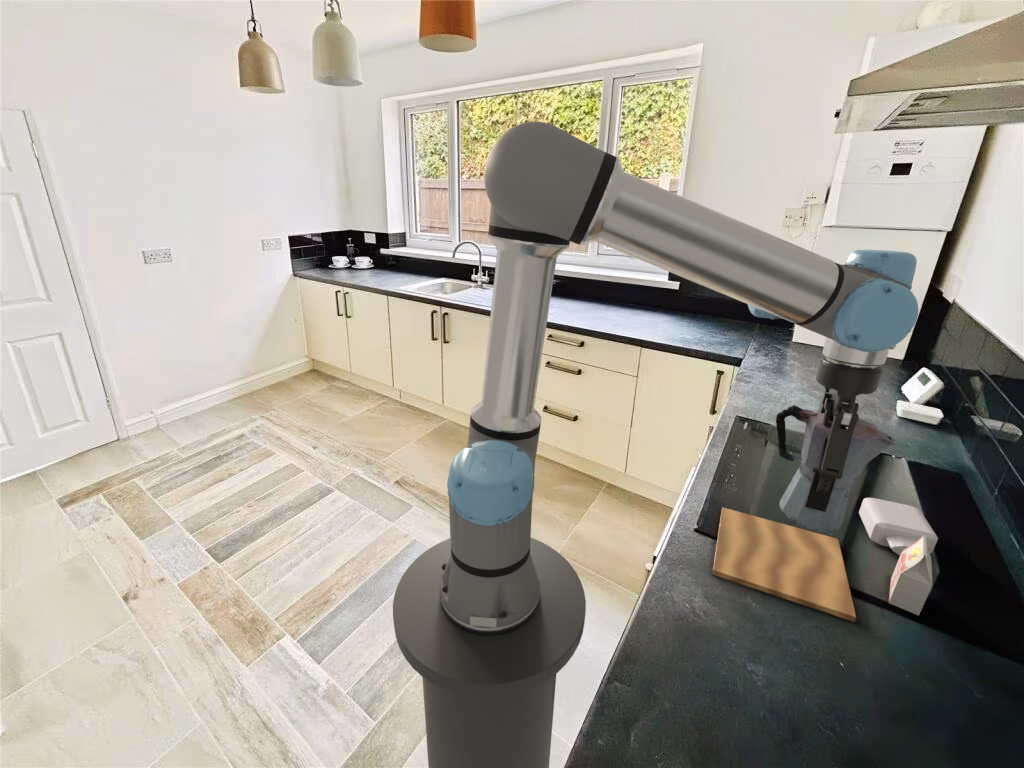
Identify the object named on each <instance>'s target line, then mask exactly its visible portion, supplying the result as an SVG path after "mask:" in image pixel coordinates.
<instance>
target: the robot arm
mask: <svg viewBox="0 0 1024 768" xmlns="http://www.w3.org/2000/svg"><path fill="white" fill-rule="evenodd" d="M483 174H484V175H483V176H484V181H483V182H484V188H485V192H486V193H485V194H486V196H487V198H488V201H489V202H490V210H489V222H488V231H487V232H488V234H487V238H488V239H489V240H490V242H491V243H492V244H493V245H494V247H495V249H496V258H495V259H496V260H495V269H494V276H493V277H494V278H493V288H492V297H491V306H490V315H489V316H490V317H489V326H488V335H487V345H486V354H485V363H484V371H483V372H484V373H483V380H482V381H483V382H482V393H481V400H480V401H479V402H478V403H476V404H475V405H473V406H472V408H471V410H470V417H469V428H468V436H467V437H468V438H467V444H466V447H464V448H463V449H461V450H460V451H458V453H456V455H455V456H454V458H453V459H452V461H451V463H450V466H449V470H448V477H447V481H446V482H447V483H446V488H447V496H448V509H449V510H448V513H449V538H450V542H451V554H450V557H449V559H448V562H447V564H443V565H442V570H444V573H443V576H442V579H441V584H440V602H441V606H442V609H443V611H444V613H445V615H446V616H447V618H448V619H449V620H450V621H451V622H452V623H453V624H454V625H456V626H457V627H459V628H461V629H462V630H465V631H467V632H470V633H473V634H477V635H487V636H490V635H500V634H505V633H508V632H511V631H513V630H516V629H518V628H519V627H521V626H523V625H524V624H525V623H526V622H528V621H529V620H530V619H531V617H532V616H533V615H534V613H535V612H536V610H537V608H538V605H539V601H540V581H539V576H538V573H537V571H536V569H535V565H534V562H533V559H532V557H531V554H530V539H531V538H532V516H533V515H532V513H533V499H534V498H533V497H534V492H535V491H534V490H535V467H536V457H537V452H538V446H539V445H538V444H539V438H540V432H541V426H542V425H541V424H542V416H541V414H540V413H539V411H538V410H537V409H536V408H535V404H536V397H537V391H538V390H537V389H538V383H539V378H540V370H541V364H542V358H543V351H544V344H545V339H546V338H545V337H546V332H547V324H548V318H549V311H550V305H551V299H552V292H553V286H554V285H553V284H554V278H555V271H556V265H557V259H558V257H559V256H560V255H561V254H562V253H564V252H565V251H566V250H568V249H569V248H570V244H571V243H574V244H576V245H578V246H581V247H582V246H585V245H587V244H590V243H592V242H595V243H598V244H600V245H603V246H605V247H608V248H611V249H612V250H615V251H617V252H620V253H623V254H624V255H626V256H629V257H633V258H635V259H637V260H640V261H642V262H644V263H647V264H649V265H652V266H655V267H657V268H658V269H661V270H663V271H666V272H668V273H671V274H674V275H676V276H679V277H681V278H683V279H685V280H688V281H690V282H693V283H694V284H698V285H700V286H703V287H705V288H706V289H707V288H708V289H710V290H713V291H715V292H717V293H720V294H721V295H725V296H727V297H730V298H732V299H735V300H737V301H739V302H741V303H744V304H746V305H747V307H748V310H749V312H750V313H751V314H752V315H753V316H754V317H756V318H763V319H770V320H778V319H779V320H780V319H783V320H786V321H788V322H790V323H793V324H795V325H797V326H799V327H801V328H803V329H806V330H808V331H810V332H813V333H816V334H818V335H821V336H822V337H825V341H824V345H823V348H822V352H821V353H822V354H823V357H822V358H821V359H820V361H819V365H818V368H817V372H816V376H815V381H816V382H817V383H818V384H819V385H820V386H822V387H824V388H823V389H824V390H823V393H822V398H821V401H820V403H819V408H818V411H817V412H820V413H825V414H824V419H823V425H824V426H825V427H826V428H831V430H830V433H829V437H828V439H827V437H825V440H824V443H823V446H822V450H821V455H820V460H819V465H818V467H817V468H813V467H812V472H814V475H813V478H812V481H811V485H810V488H809V492H808V495H807V498H806V502H805V507H807V508H811V509H815V510H819V511H823V512H826V509H827V506H828V503H829V500H830V496H831V493H832V490H833V487H834V484H835V481H836V478H837V479H841V477H842V475H843V474H842V473H843V469H844V465H845V461H846V458H847V454H848V450H849V446H850V442H851V439H852V435H853V431H854V428H855V426H856V423H857V420H858V419H860V416H859V413H858V410H859V403H858V402H856V400H857V396H860V395H870V394H873V393H875V392H876V391H877V390H878V388H879V384H880V382H881V378H882V375H883V373H884V369H883V367H882V365H884V364H886V361H887V359H888V355H889V350H894V349H896V347H897V345H898V344H900V342H902V341H903V340H904V339H905V338H906V337H907V336H908V335H909V333H911V332H912V329H913V328H914V327H915V325H916V323H917V321H918V318H919V317H918V316H919V311H920V310H919V303H918V300H917V297H916V296H915V294H914V293H913V292H912V288H913V286H912V285H913V282H914V277H915V274H916V268H917V262H918V261H917V257H916V256H915V255H914V254H913V253H911V252H907V251H906V252H905V251H897V250H884V249H883V250H882V249H855V250H853V251H851V252H850V253H849V255H848V258H847V259H846V261H845V263H844V264H840V263H837V262H835V261H833V260H832V259H830V258H827V257H825V256H822V255H821V254H818V253H815V252H813V251H811V250H808V249H806V248H805V247H801V246H799V245H797V244H795V243H792V242H790V241H787V240H785V239H782V238H781V237H779V236H776V235H773V234H771V233H769V232H766V231H764V230H761V229H759V228H757V227H755V226H752V225H749V224H748V223H745V222H743V221H740V220H738V219H736V218H733V217H730V216H729V215H726V214H724V213H721V212H719V211H717V210H714V209H712V208H709V207H707V206H706V205H703V204H700V203H698V202H695V201H693V200H691V199H688V198H687V197H684V196H682V195H679V194H677V193H674V192H671V191H670V190H668V189H665V188H662V187H661V186H658V185H655V184H653V183H651V182H648V181H646V180H643V179H641V178H639V177H637V176H634V175H632V174H629V173H628V172H626V171H625V170H624V168H623V165H622V162H621V160H620V157H618V156H616V155H613V154H611V153H608V152H606V151H604V150H602V149H600V148H598V147H596V146H594V145H592V144H590V143H588V142H585V141H584V140H582V139H580V138H579V137H576V136H575V135H573V134H571V133H569V132H567V131H566V130H565V129H562V128H560V127H558V126H556V125H553V124H551V123H547V122H542V121H526V122H522V123H519V124H517V125H515V126H512V127H510V128H509V129H507V130H506V131H505V132H504V133H502V134H501V135H500V136H499V137H498V138H497V140H496V141H495V142H494V143H493V145H492V147H491V149H490V151H489V153H488V155H487V157H486V161H485V167H484V173H483ZM829 421H831V422H832V423H830V422H829Z"/></svg>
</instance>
